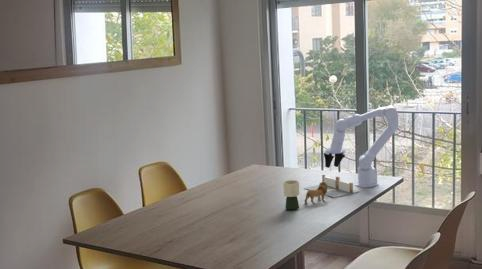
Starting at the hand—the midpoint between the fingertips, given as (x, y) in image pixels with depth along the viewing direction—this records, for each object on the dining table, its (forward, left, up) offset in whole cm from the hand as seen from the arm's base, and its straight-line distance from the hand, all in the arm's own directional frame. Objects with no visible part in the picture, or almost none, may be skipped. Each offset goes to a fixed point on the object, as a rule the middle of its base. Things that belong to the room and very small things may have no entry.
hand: (331, 166), depth 316 cm
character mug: (+40, +20, -10) cm, 46 cm away
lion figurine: (+25, +18, -10) cm, 33 cm away
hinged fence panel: (+2, +1, -9) cm, 10 cm away
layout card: (+6, +7, -10) cm, 14 cm away
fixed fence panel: (+2, +13, -10) cm, 16 cm away
